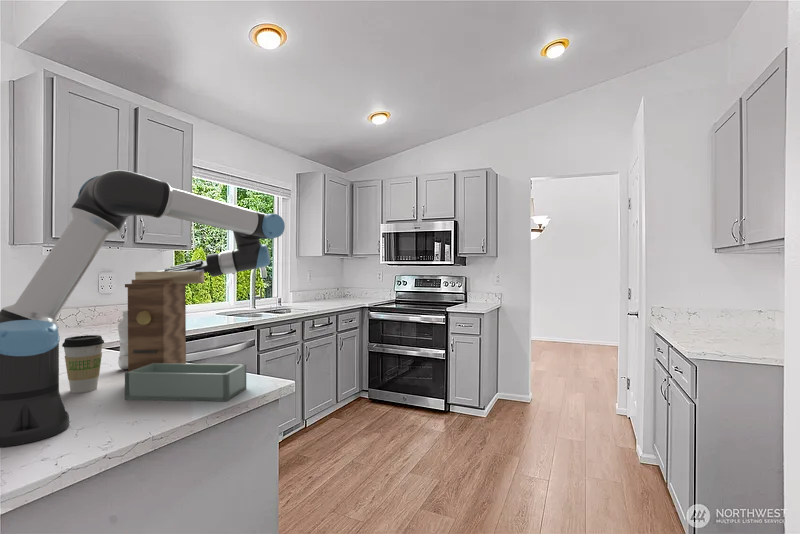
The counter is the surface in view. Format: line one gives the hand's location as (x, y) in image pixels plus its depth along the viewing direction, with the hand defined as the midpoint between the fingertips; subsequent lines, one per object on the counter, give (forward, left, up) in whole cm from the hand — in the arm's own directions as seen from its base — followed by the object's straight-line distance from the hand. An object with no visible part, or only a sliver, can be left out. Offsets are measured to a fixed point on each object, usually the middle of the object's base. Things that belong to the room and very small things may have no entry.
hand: (145, 277), depth 143 cm
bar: (-4, -11, -2) cm, 12 cm away
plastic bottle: (+9, +12, -32) cm, 35 cm away
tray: (-18, -24, -32) cm, 44 cm away
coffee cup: (-16, +8, -32) cm, 37 cm away
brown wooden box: (-4, -7, -32) cm, 33 cm away
